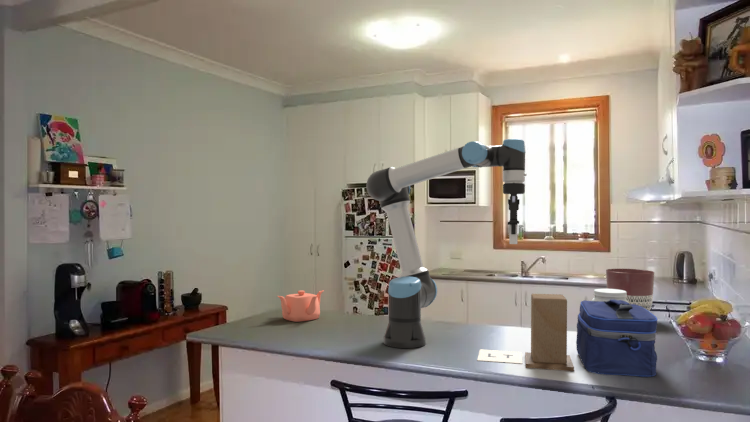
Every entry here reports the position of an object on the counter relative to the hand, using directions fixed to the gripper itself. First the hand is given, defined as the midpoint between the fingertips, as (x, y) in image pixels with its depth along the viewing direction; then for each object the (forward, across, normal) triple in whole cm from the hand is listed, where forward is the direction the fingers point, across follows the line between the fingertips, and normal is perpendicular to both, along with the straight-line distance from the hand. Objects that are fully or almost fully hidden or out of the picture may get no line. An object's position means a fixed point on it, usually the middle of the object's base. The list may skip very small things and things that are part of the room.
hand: (513, 242), depth 195 cm
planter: (+37, +64, -50) cm, 89 cm away
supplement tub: (+37, +20, -35) cm, 55 cm away
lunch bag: (+37, -14, -31) cm, 50 cm away
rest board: (+37, -19, -11) cm, 43 cm away
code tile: (+37, -15, +4) cm, 40 cm away
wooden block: (+36, -19, -11) cm, 42 cm away
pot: (+37, +25, +90) cm, 100 cm away
